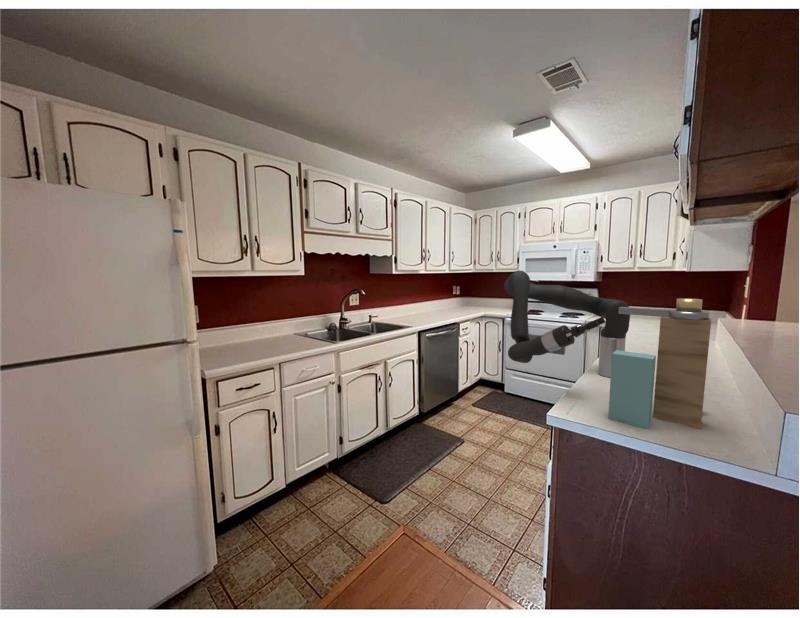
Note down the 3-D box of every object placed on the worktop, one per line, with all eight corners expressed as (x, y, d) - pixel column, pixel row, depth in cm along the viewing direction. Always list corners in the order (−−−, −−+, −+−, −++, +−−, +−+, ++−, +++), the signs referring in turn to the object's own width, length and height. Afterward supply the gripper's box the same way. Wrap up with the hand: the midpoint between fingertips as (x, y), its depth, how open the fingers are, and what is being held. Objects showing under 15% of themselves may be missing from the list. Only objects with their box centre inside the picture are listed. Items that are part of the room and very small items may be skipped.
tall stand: (655, 411, 105) (663, 314, 101) (701, 422, 97) (711, 318, 93) (652, 417, 100) (660, 317, 96) (700, 429, 93) (711, 320, 89)
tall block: (612, 412, 104) (616, 350, 102) (650, 422, 97) (655, 355, 95) (608, 418, 100) (612, 353, 98) (647, 428, 93) (653, 359, 91)
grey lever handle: (622, 311, 109) (623, 295, 109) (709, 317, 94) (711, 298, 94) (616, 314, 103) (617, 297, 102) (708, 321, 88) (710, 301, 87)
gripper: (545, 332, 117) (589, 313, 106) (559, 327, 127) (600, 309, 116) (555, 351, 115) (601, 334, 104) (568, 344, 125) (611, 328, 114)
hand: (600, 321), depth 110 cm, fingers open, 8 cm apart
